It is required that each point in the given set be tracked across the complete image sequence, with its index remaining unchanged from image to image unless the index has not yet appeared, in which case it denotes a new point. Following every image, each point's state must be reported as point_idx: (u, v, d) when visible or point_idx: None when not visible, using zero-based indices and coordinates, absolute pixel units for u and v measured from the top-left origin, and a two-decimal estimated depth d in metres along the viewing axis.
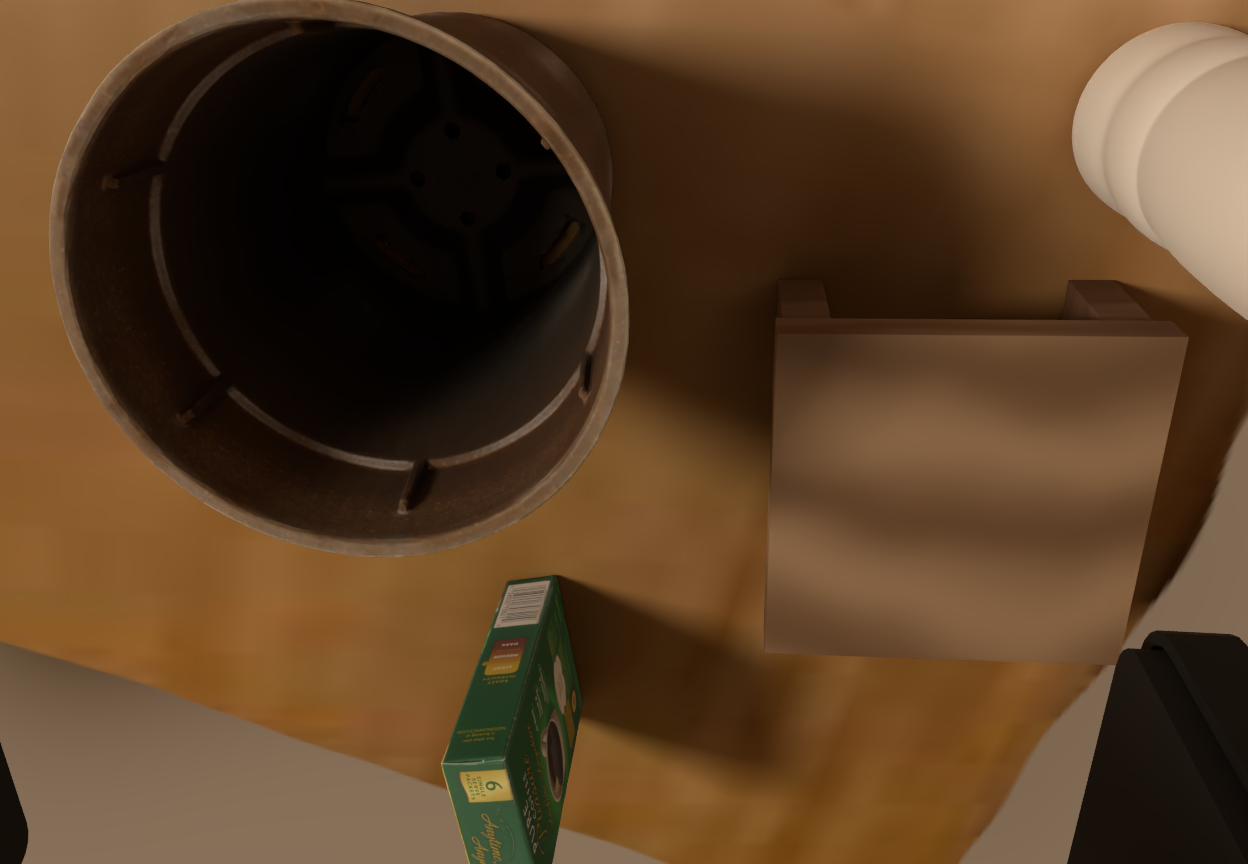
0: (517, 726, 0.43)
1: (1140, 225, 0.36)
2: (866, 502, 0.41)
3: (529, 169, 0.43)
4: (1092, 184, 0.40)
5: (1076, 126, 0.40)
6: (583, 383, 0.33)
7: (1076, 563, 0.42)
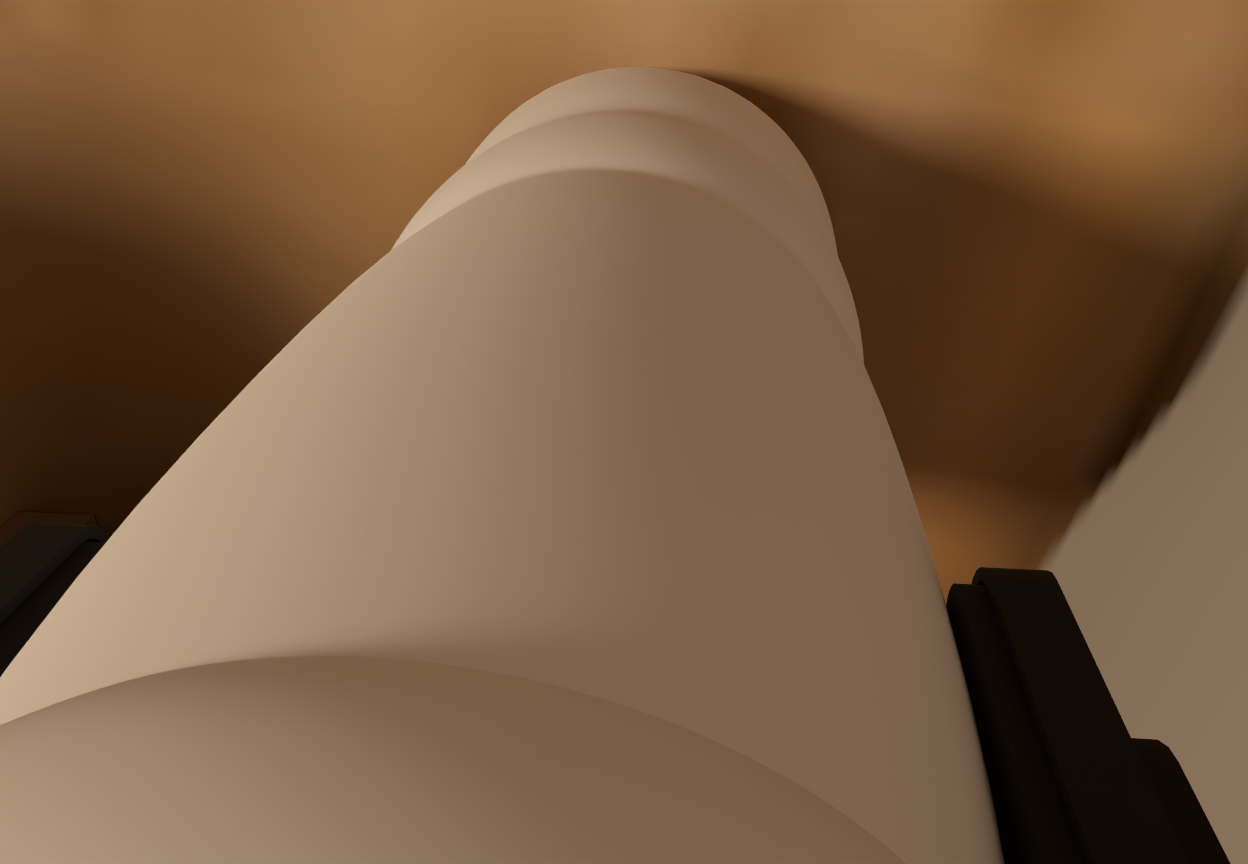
0: None
1: None
2: None
3: None
4: None
5: None
6: None
7: None
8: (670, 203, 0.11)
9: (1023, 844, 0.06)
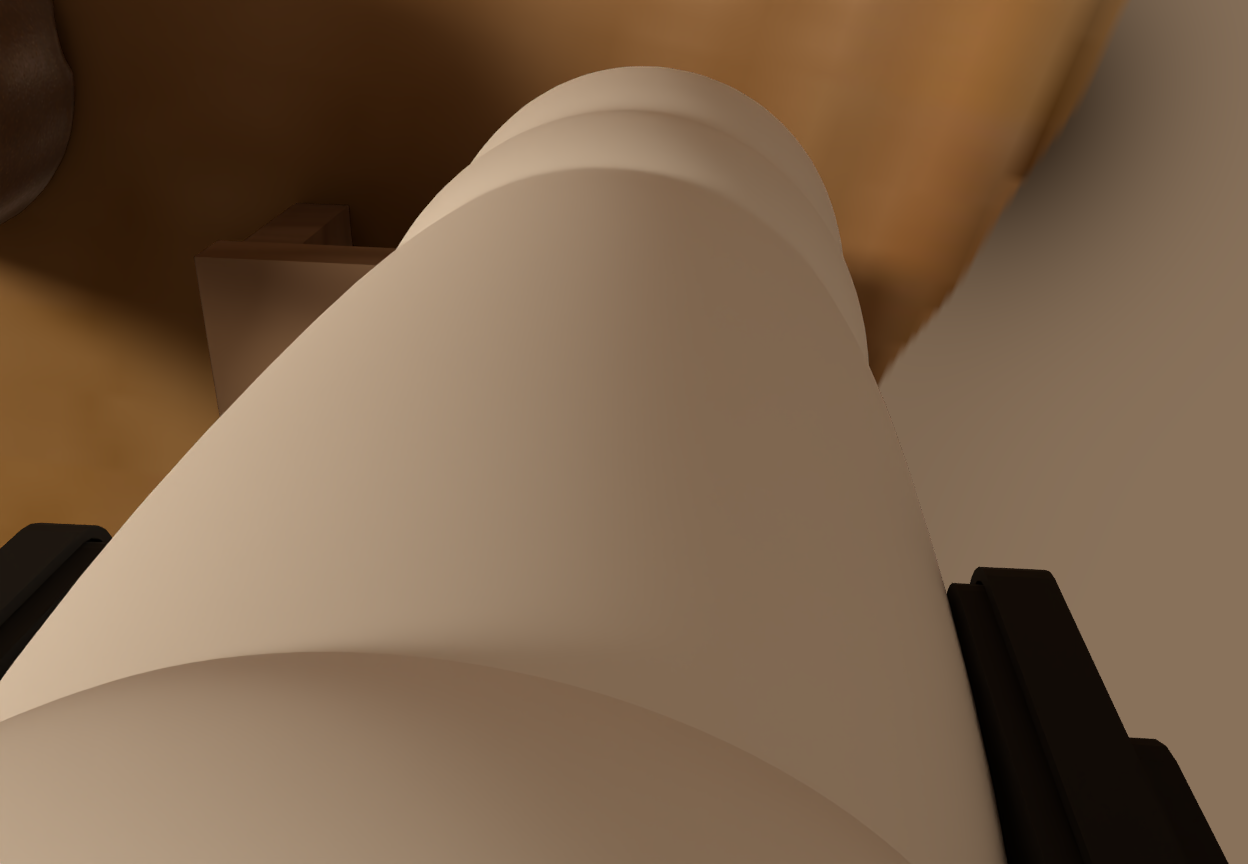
0: None
1: None
2: None
3: None
4: None
5: None
6: None
7: None
8: (675, 202, 0.11)
9: (1021, 844, 0.06)
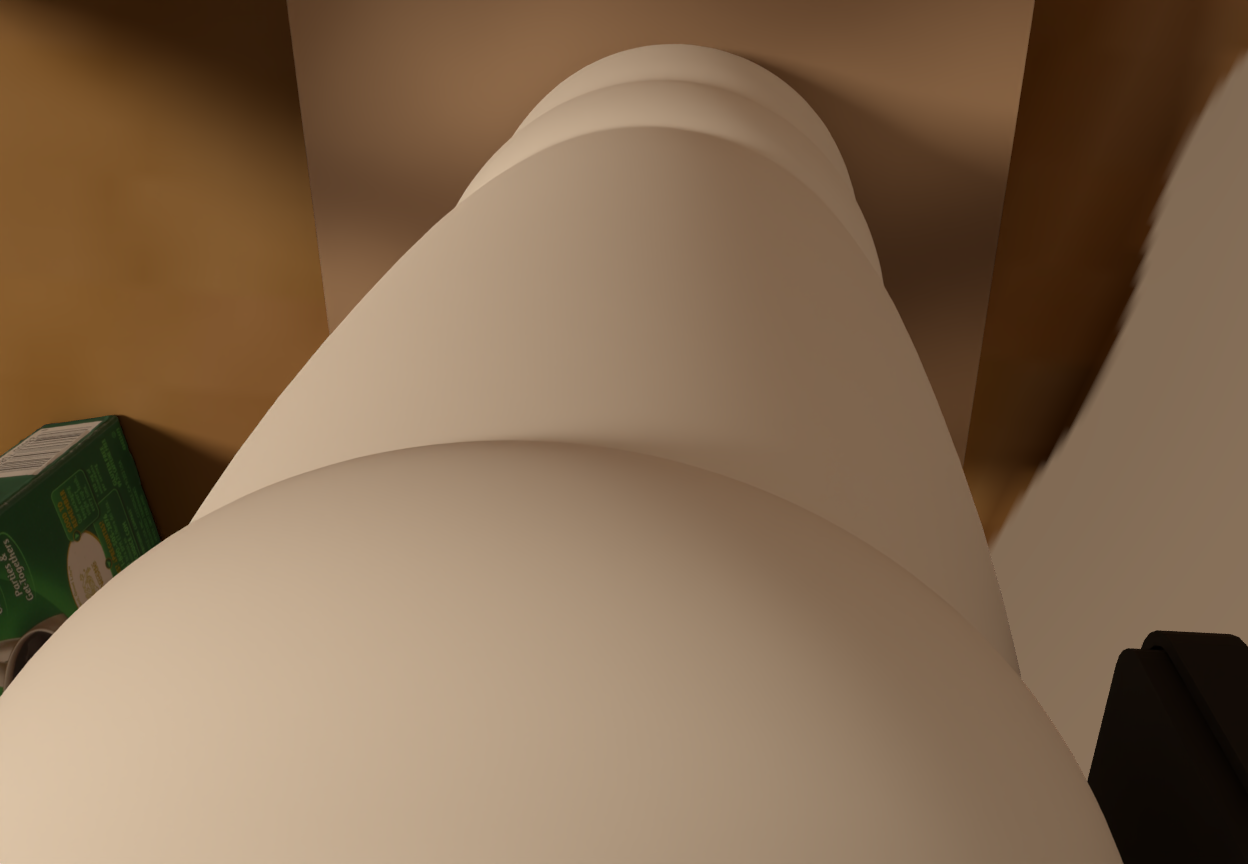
0: None
1: None
2: None
3: None
4: None
5: None
6: None
7: None
8: (709, 149, 0.13)
9: None
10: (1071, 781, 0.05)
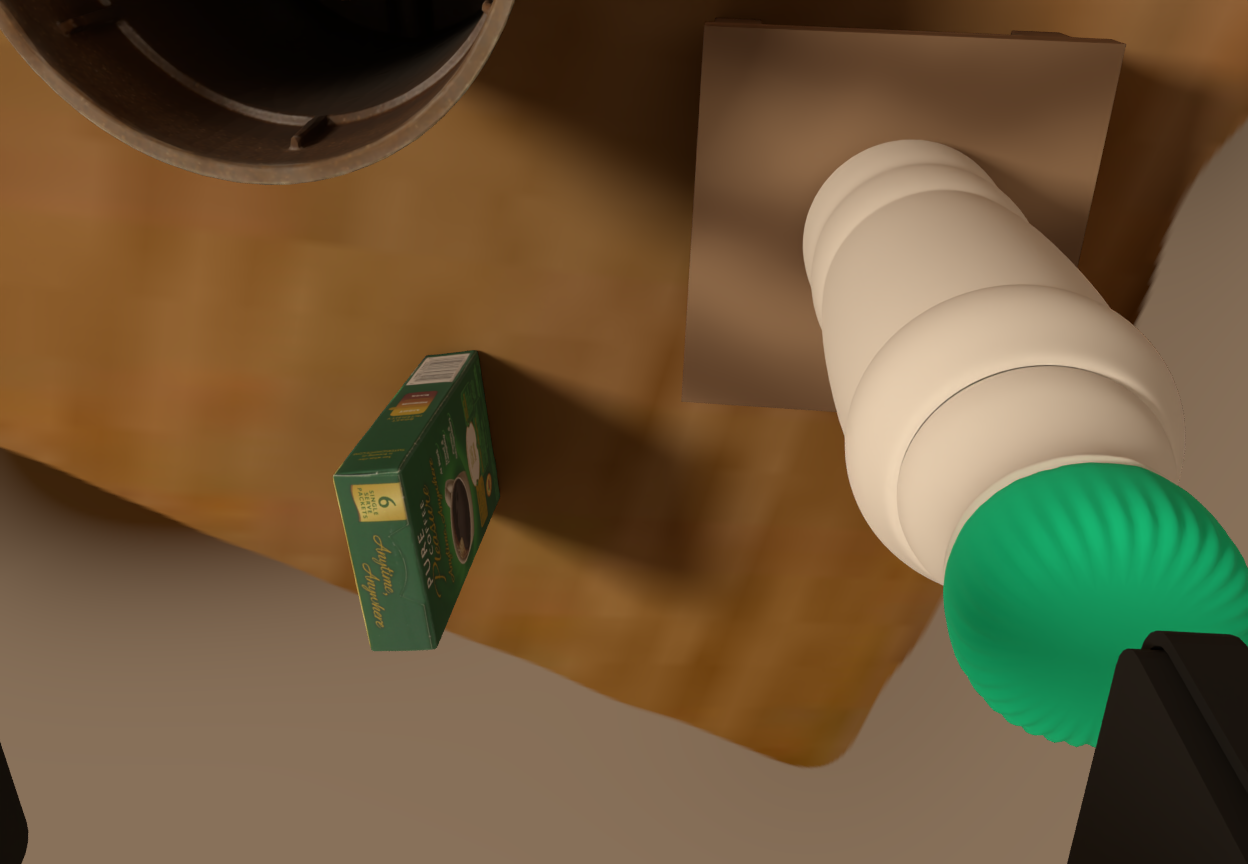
0: (416, 451, 0.41)
1: None
2: (790, 227, 0.40)
3: None
4: None
5: (803, 241, 0.39)
6: None
7: None
8: (990, 203, 0.30)
9: None
10: None
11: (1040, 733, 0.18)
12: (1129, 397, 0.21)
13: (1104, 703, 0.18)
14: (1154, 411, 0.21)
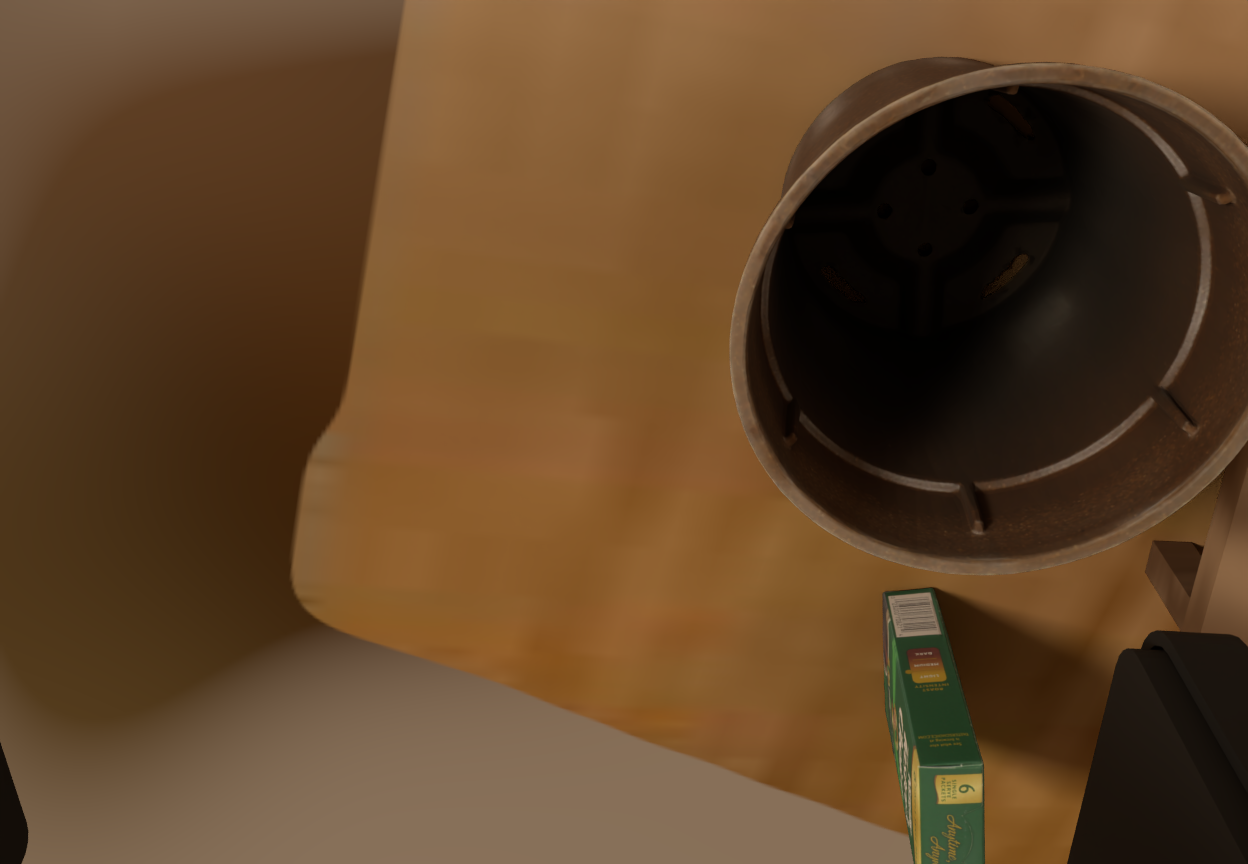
0: (974, 732, 0.45)
1: None
2: None
3: (996, 205, 0.46)
4: None
5: None
6: (1185, 417, 0.35)
7: None
8: None
9: None
10: None
11: None
12: None
13: None
14: None
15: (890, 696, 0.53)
